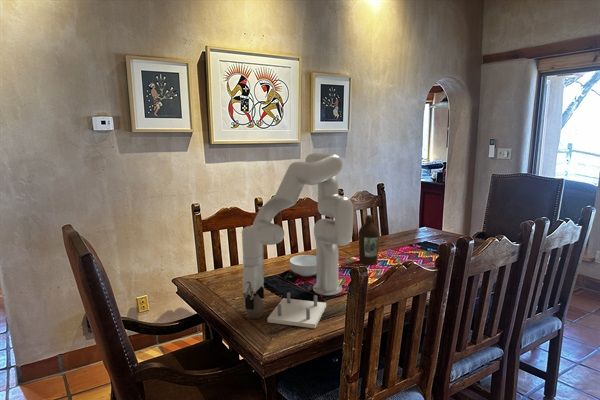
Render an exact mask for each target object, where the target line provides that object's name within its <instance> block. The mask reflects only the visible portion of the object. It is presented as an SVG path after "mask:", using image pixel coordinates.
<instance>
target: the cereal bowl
mask: <svg viewBox="0 0 600 400" xmlns="http://www.w3.org/2000/svg"><path fill="white" fill-rule="evenodd" d="M289 268H290V269H291V270H292V272H293V273H295V274H297V275H299V276H301V277H312V276H314V275H317V274H316V255H314V254H313V255H312V254H300V255H294V256H292V257H290V259H289Z"/></svg>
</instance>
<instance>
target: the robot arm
mask: <svg viewBox="0 0 600 400" xmlns="http://www.w3.org/2000/svg"><path fill="white" fill-rule="evenodd" d="M342 168H343V161H342V158H341V157H340V156H339V155H337V154H334V153H324V152H313V153H310V154H308V155H307V156H306V157H305V161H294V162H292V163H290V164H289V166H288V167H287V170H286V172H285V174H284V175H283V177H282V180H281V181H280V184H279V186H278V189H277V191H276V192H275V194H274V195H273V196H272V197H271V198H269V200H268V201H267V202H265V203H264V204H263V205H262V207H261V208H260V209H259V211H258V212H257V213H256V216H255V218H254V219H253V223H252V225H249V226H248V225H247V226H245V227H243V228H242V230H241V240H242V242H241V243H242V246H241V247H242V260H243V261H242V264H243V269H242V292H243V293H242V294H243V297H244V300H245V302H244V305H245V306H244V307H245V310H246V309H251V310H253V309H254V299H253V295H254V293H256V294H258V296H259V297H260V298H261V299H262V300H263V299H264V298H265V289H264V288H265V285H264V283H265V274H264V273H265V272H264V263H265V261H264V257H265V256H264V246H270V245H278V244H280V243H281V242H282V241H283V240H284V238H285V231H284V228H283V227H282V226H280V225H279V224H275V223H272V221H273V220H274V218H275V217H276V215H277V214H279V213H280V212H281V211H283V210H287V209H289V208H291V207H293V206H295V205H296V204H297V201H298V199H299V197H300V195H301V193H302V190H303V188H304V186H305V185H306V186H307V185H308V186H315V185H317V211H318V212H319V214H320V215H322V216H325V217H329V218H321V219H318V220H317V221H316V222H315V223H314V227H313V237H314V239H315V249H316V252H315V253H316V254H315V256H316V274H315V275H316V283H315V284H313V286H312V291H313V292H314V293H315V294H317V295H321V296H335V295H338V294H340V293H341V292H342V291H343V287H342V285H341V284H339V255H340V253H339V247H338V246H340V247H343V246H346V245H349V243H351V240H352V237H353V233H354V232H353V231H354V230H353V229H354V206H353V203H352V201H351V199H350V198H348V197H347V196H344V195H340V194H339V181H338V177H337V175H339V174H340V172H341V170H342ZM330 218H333V219H330ZM249 293H250V294H249Z"/></svg>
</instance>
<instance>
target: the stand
mask: <svg viewBox="0 0 600 400" xmlns="http://www.w3.org/2000/svg"><path fill="white" fill-rule="evenodd" d="M326 308H327V302H321V301H318V294H317V295H316V294H314V295H313V300H312V301H311V300H303V299H294V298H291V292H289V291H288V292H286V298H285V297H283V298H282V299H281V300H280V302H279V303H277V306H276V307H275V308H274V309H273V310H272V312H271V313H270V314H269V316H267V323H273V324H279V325H287V326H295V327H303V328H309V329H310V328H311V329H316V327H317V326H318V324H319V322H320V320H321V318H322V316H323V314H324V312H325V310H326Z"/></svg>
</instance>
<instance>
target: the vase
mask: <svg viewBox="0 0 600 400" xmlns="http://www.w3.org/2000/svg"><path fill="white" fill-rule="evenodd" d="M253 299H254V309H253V310H251V309H246V308H245V312H246V314H247V316H248V318H250V319H254V320H256V319H260V318H261V317H262V316H263V315H264V313H265V303H264V301H263V299H261V298H260V297H259V296H258V294H256V292H255V293H254V295H253Z"/></svg>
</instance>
